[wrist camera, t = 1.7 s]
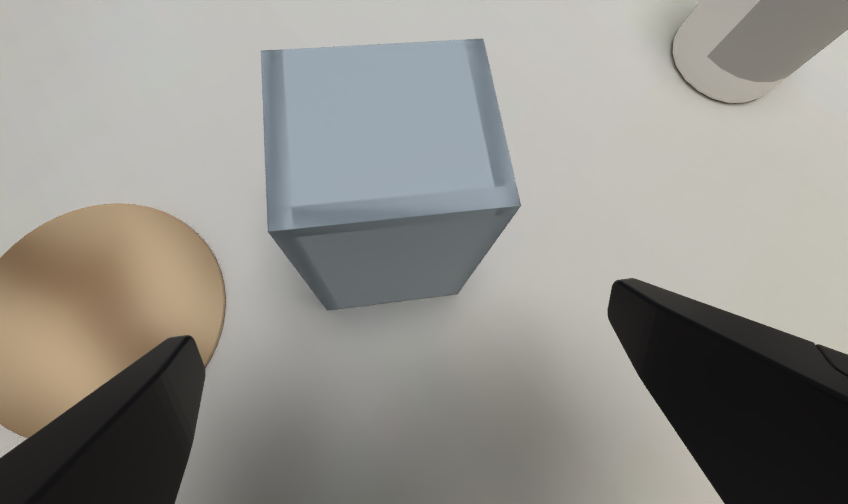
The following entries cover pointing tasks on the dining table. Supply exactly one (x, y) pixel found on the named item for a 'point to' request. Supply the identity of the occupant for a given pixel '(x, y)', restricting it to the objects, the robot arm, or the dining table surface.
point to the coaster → (98, 305)
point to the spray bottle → (753, 43)
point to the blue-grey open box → (385, 167)
